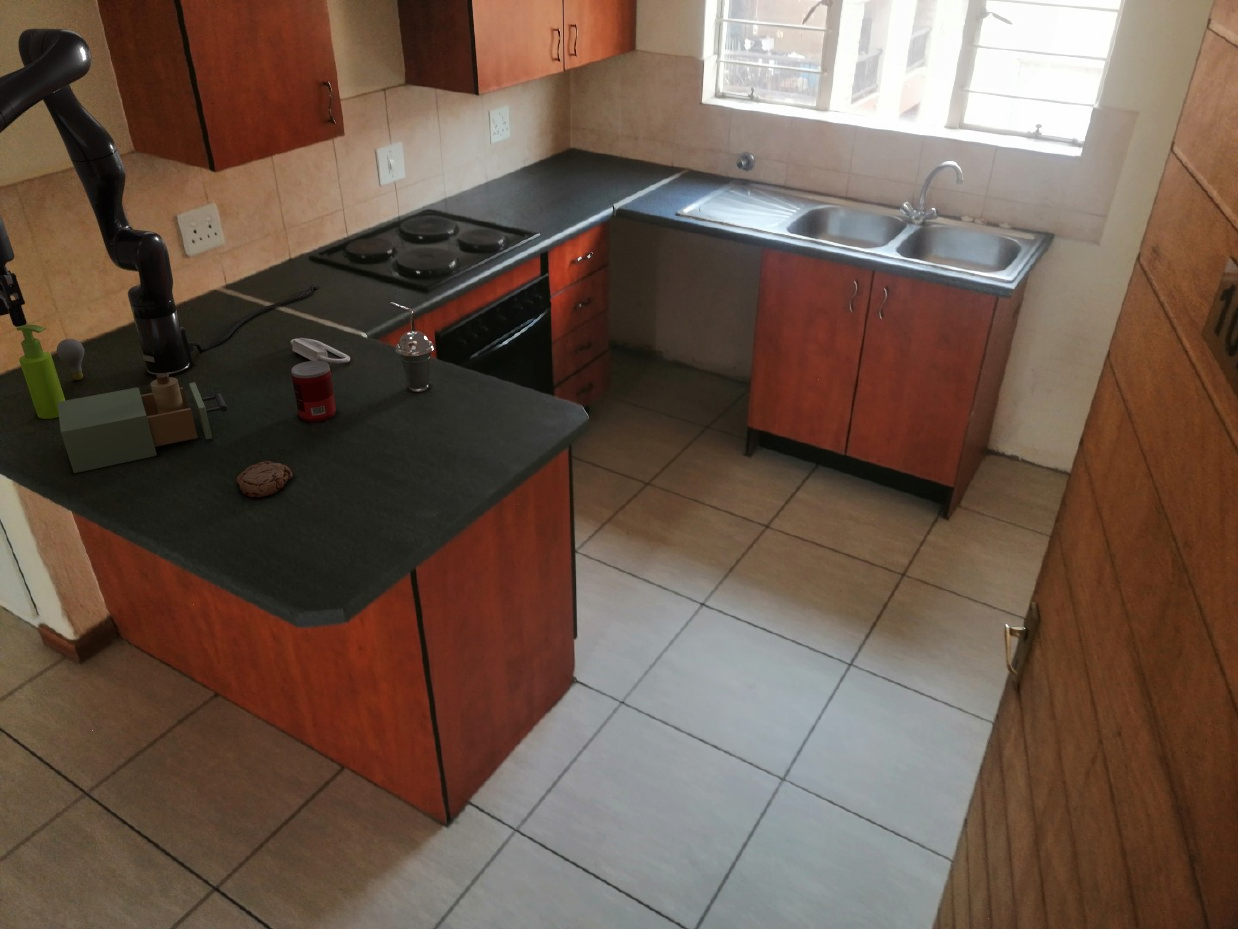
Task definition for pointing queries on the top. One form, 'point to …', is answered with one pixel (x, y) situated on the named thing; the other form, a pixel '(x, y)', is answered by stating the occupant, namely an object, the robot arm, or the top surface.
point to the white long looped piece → (316, 350)
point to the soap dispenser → (40, 374)
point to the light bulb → (72, 356)
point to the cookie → (263, 479)
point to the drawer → (180, 418)
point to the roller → (166, 394)
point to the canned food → (313, 390)
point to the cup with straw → (415, 355)
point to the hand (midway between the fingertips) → (12, 319)
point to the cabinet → (105, 429)
